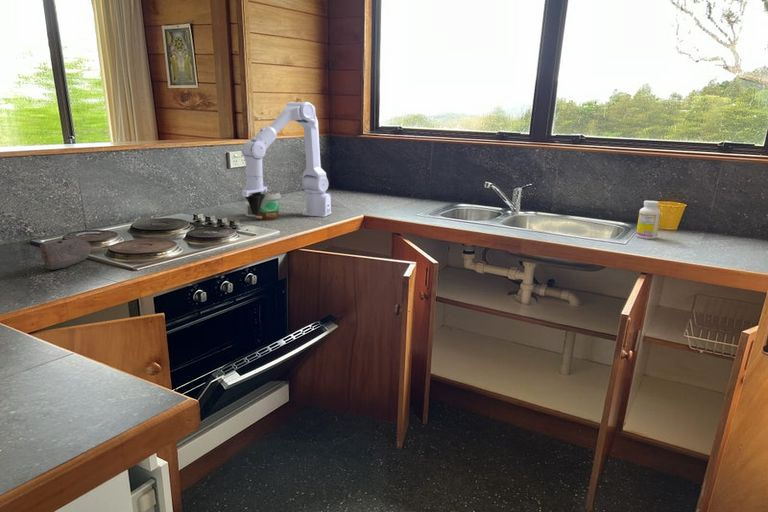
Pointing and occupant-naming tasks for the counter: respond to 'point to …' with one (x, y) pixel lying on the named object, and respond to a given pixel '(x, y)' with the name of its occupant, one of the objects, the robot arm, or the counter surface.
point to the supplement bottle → (648, 220)
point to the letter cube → (249, 210)
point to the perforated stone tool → (64, 253)
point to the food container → (269, 207)
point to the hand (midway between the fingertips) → (255, 214)
